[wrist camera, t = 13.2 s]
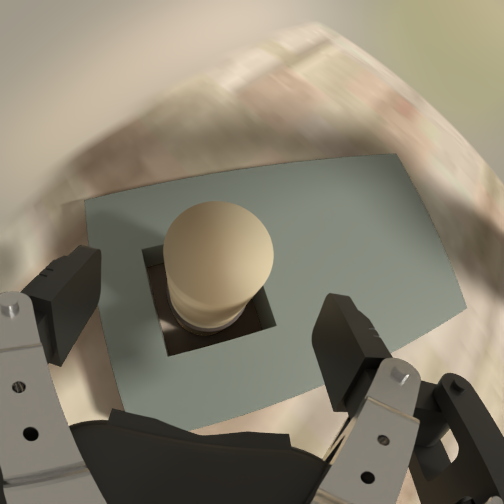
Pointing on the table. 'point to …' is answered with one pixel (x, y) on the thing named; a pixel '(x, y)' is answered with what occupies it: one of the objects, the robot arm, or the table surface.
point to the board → (270, 280)
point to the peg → (215, 264)
